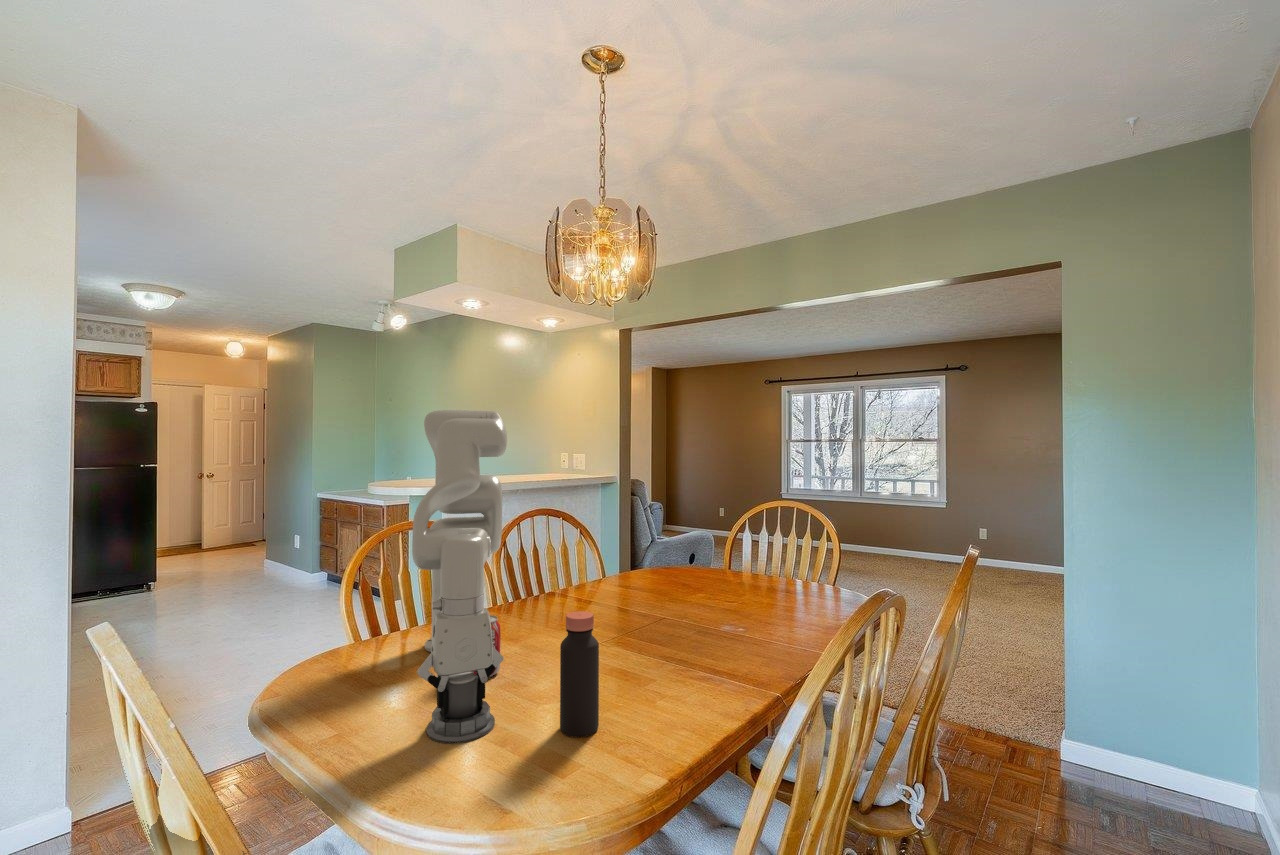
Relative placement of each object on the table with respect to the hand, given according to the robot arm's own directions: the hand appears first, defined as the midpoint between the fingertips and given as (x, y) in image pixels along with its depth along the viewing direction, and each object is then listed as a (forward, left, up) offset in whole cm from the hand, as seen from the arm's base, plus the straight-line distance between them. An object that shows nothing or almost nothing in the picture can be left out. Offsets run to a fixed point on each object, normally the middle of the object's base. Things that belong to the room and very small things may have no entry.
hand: (461, 706), depth 106 cm
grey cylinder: (0, 0, -2) cm, 2 cm away
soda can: (-22, +10, -4) cm, 24 cm away
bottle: (+11, +18, -4) cm, 21 cm away
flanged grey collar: (0, 0, -4) cm, 4 cm away
